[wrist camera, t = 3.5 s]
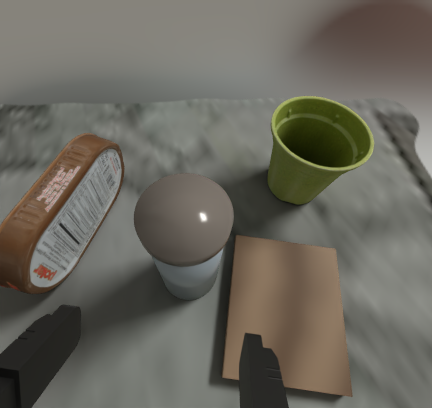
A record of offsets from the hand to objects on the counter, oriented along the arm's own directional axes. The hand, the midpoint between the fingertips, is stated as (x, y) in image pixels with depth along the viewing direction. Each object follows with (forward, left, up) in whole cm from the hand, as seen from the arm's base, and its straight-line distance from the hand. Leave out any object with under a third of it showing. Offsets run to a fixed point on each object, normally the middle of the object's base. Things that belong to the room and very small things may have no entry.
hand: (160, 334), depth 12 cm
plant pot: (+10, +18, -11) cm, 24 cm away
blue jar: (0, +6, -11) cm, 13 cm away
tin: (-11, +9, -11) cm, 18 cm away
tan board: (+9, +4, -11) cm, 15 cm away
